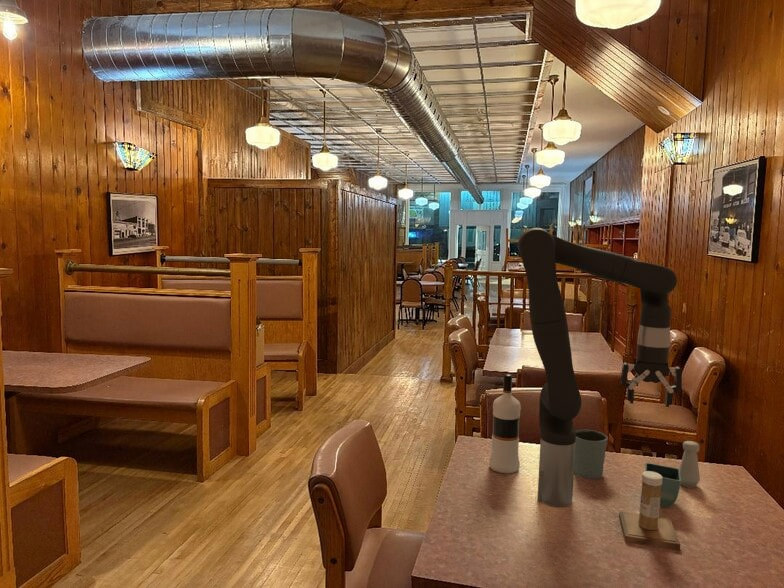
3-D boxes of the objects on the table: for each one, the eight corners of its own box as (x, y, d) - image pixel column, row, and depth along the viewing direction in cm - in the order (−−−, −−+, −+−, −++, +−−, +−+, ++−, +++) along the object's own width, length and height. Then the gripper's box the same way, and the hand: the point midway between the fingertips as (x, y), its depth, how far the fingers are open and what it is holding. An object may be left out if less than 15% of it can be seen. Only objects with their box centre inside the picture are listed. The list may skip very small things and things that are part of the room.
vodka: (484, 463, 176) (487, 371, 173) (511, 460, 178) (515, 370, 175) (496, 476, 167) (500, 379, 164) (524, 473, 169) (528, 377, 166)
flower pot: (677, 498, 155) (679, 468, 154) (678, 513, 147) (681, 481, 146) (642, 492, 158) (645, 462, 157) (642, 505, 151) (644, 474, 149)
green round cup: (570, 476, 168) (572, 438, 166) (570, 463, 177) (572, 427, 176) (606, 481, 165) (609, 443, 163) (604, 467, 174) (606, 431, 173)
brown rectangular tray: (624, 541, 133) (625, 535, 133) (618, 516, 144) (619, 510, 144) (679, 550, 130) (680, 543, 130) (669, 524, 141) (669, 518, 141)
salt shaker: (703, 489, 160) (706, 446, 159) (683, 489, 161) (686, 446, 159) (692, 480, 166) (696, 438, 165) (673, 480, 166) (676, 438, 165)
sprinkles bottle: (634, 521, 139) (638, 470, 137) (651, 520, 139) (655, 470, 138) (644, 531, 134) (648, 479, 133) (662, 530, 135) (666, 478, 133)
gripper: (680, 342, 144) (676, 403, 146) (622, 338, 148) (618, 397, 150) (687, 348, 137) (682, 412, 139) (625, 344, 141) (621, 405, 143)
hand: (648, 404), depth 144 cm, fingers open, 8 cm apart
